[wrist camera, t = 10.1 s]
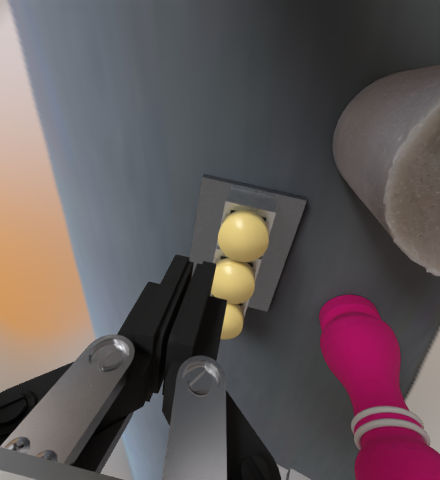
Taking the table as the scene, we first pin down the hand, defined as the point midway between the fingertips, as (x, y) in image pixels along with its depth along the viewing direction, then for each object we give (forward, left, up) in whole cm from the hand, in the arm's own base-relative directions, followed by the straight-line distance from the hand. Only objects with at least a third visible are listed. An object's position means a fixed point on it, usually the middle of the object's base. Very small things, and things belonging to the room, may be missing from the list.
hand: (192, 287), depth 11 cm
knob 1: (+3, +2, -16) cm, 16 cm away
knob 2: (+7, +2, -16) cm, 18 cm away
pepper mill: (+13, +16, -18) cm, 27 cm away
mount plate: (+7, +2, -17) cm, 19 cm away
